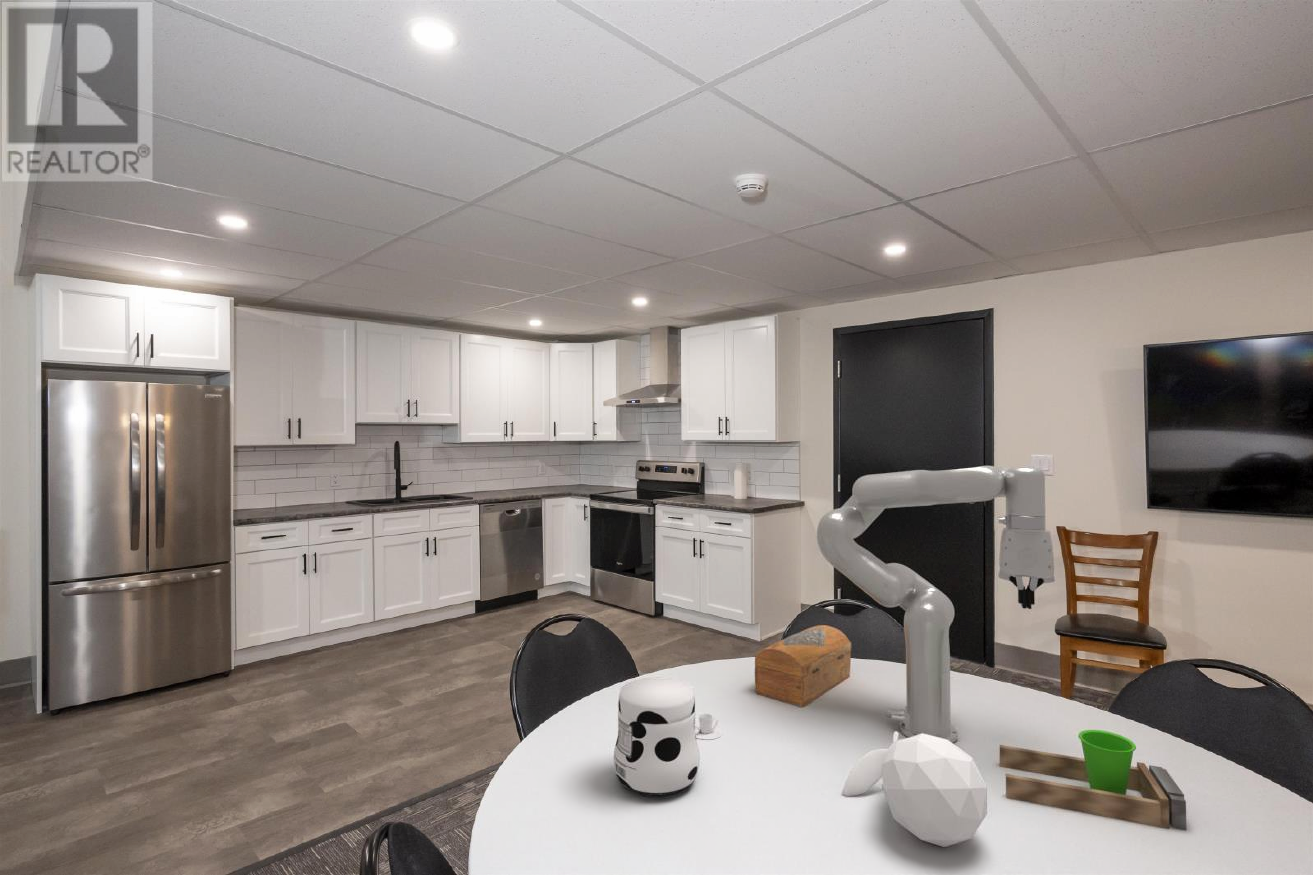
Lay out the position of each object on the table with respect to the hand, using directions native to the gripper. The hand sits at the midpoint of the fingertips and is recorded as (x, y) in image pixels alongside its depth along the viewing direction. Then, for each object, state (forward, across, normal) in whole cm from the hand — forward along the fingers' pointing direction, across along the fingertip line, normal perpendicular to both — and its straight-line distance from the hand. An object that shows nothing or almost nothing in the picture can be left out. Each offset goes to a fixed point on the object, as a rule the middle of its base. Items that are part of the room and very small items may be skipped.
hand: (1026, 607), depth 141 cm
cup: (+32, +12, -14) cm, 37 cm away
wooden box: (+32, -53, +23) cm, 66 cm away
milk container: (+32, -70, -42) cm, 88 cm away
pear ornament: (+32, -22, -36) cm, 53 cm away
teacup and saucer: (+33, -71, -16) cm, 80 cm away
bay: (+32, +8, -14) cm, 36 cm away
